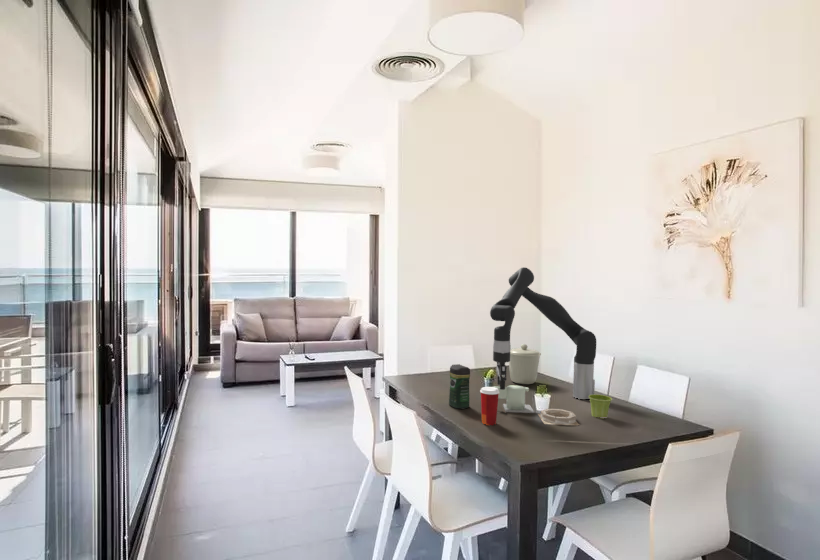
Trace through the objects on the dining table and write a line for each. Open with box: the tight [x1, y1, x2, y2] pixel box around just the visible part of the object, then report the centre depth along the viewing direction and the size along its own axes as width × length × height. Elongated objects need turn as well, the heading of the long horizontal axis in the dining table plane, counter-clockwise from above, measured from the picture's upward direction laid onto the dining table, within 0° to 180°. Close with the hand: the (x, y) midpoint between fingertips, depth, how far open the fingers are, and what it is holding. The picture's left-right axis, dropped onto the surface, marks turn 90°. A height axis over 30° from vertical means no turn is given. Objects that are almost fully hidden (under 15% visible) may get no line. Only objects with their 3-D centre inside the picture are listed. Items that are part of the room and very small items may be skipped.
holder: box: [537, 408, 580, 426], centre depth 206 cm, size 14×14×3 cm
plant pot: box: [588, 394, 613, 418], centre depth 212 cm, size 9×9×9 cm
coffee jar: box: [448, 363, 471, 410], centre depth 224 cm, size 10×8×19 cm
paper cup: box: [479, 386, 499, 426], centre depth 200 cm, size 8×8×14 cm
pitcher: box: [492, 384, 530, 410], centre depth 221 cm, size 15×8×9 cm, turn 87°
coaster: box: [502, 403, 536, 414], centre depth 221 cm, size 12×12×1 cm
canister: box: [508, 343, 542, 385], centre depth 274 cm, size 18×18×21 cm
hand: (501, 387), depth 221 cm, fingers open, 8 cm apart
